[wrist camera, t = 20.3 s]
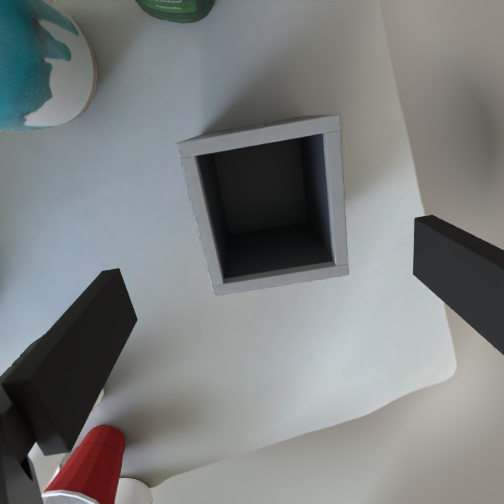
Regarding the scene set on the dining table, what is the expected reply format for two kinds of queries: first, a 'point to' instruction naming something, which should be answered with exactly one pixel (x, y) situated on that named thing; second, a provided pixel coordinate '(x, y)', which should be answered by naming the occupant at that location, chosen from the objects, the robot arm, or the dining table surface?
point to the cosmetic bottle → (49, 460)
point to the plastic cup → (90, 470)
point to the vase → (42, 66)
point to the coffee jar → (177, 9)
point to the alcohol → (132, 492)
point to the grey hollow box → (269, 202)
